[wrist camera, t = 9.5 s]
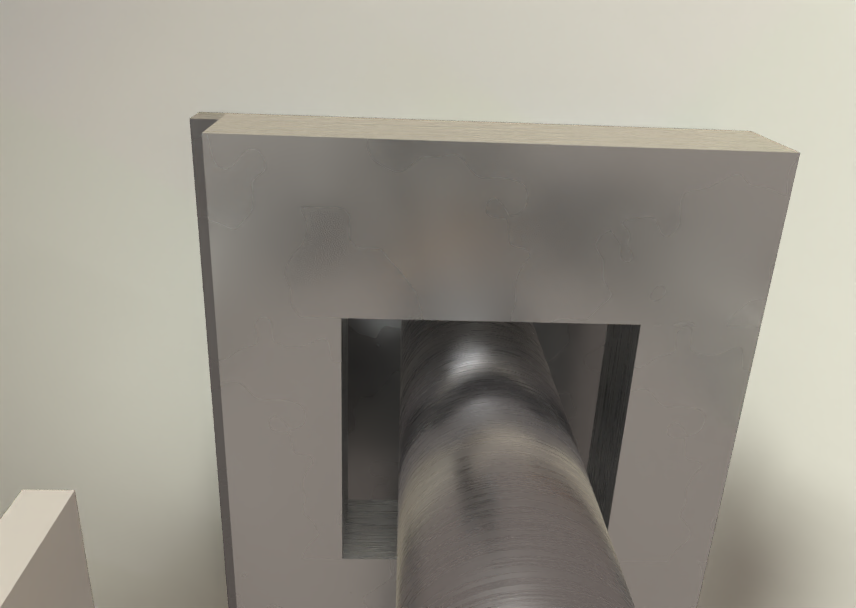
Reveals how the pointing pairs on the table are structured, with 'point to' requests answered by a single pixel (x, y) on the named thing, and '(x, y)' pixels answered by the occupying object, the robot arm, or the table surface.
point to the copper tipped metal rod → (493, 478)
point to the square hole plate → (474, 301)
